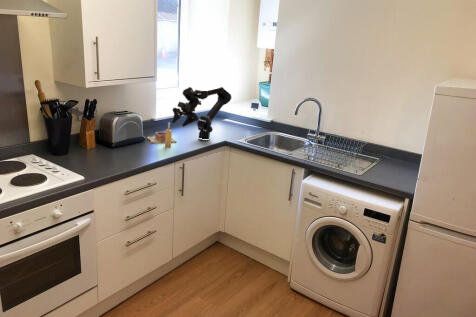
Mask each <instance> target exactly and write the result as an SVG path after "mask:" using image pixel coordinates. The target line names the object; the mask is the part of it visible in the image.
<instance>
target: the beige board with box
mask: <svg viewBox="0 0 476 317" xmlns="http://www.w3.org/2000/svg"><path fill="white" fill-rule="evenodd" d="M165 136H166V131H155V132H154V136H147V140H148V141H149V140H150V141H149V142H150V143H151V144H165V143H164V142H165ZM171 142H176V143H177V140H176V139H175V138H174V137H173V136H171Z"/></svg>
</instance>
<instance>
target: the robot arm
mask: <svg viewBox="0 0 476 317" xmlns="http://www.w3.org/2000/svg"><path fill="white" fill-rule="evenodd" d="M182 95H183V96H184V98H185V99H186V101H188V102H183V101H178V104H177V107H173V108H172V113H173V118H172V122H171V124H175V123H176V122H177V121H178V120H179V119H181V117H182V116H185V117H186V119H185V121H183V123H182V125H181V126H182V127H183V128H184V127H186V126H188V125H190V124H192V123H195V122H196V124H197V130H198V131H199V132H198V139H199V138H202V139H209V138H210V137H211V132H212V133H213V127H212V121H213V119H214V118H215V117H216V115H217V114H218V113H219V111H220V110H222V109H221V108H222V107H224V105H227V104H228V103H229V102H231V100H232V94H231V93H230V92H229V91H227V90H226V89H225V88H224V87H223V86H218V85H216V86H213V87H210V88H204V89H203V88H195V90H194V89H193V88H192V87H191V86H188V88H185V89H183V90H182ZM214 95H217V101H216V102H215V104H214V105H213V106H212V107H211V108H210V110H209V111H208V112H207V114H206V115H205V116H204V115H201V116H200V117H199V116H198V115H197V114H196V108H197V106H201V105H202V101H201V100H205V99H207V98H208V97H209V96H214ZM210 139H211V138H210Z"/></svg>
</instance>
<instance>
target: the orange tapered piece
mask: <svg viewBox="0 0 476 317" xmlns="http://www.w3.org/2000/svg"><path fill="white" fill-rule="evenodd" d="M170 128H171V122H167V129H165V132H166V136H165V143H164V147H165V148H167V147H170V148H172V143H171V136H172V133H173V130H172V129H170ZM172 137H173V136H172Z"/></svg>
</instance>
